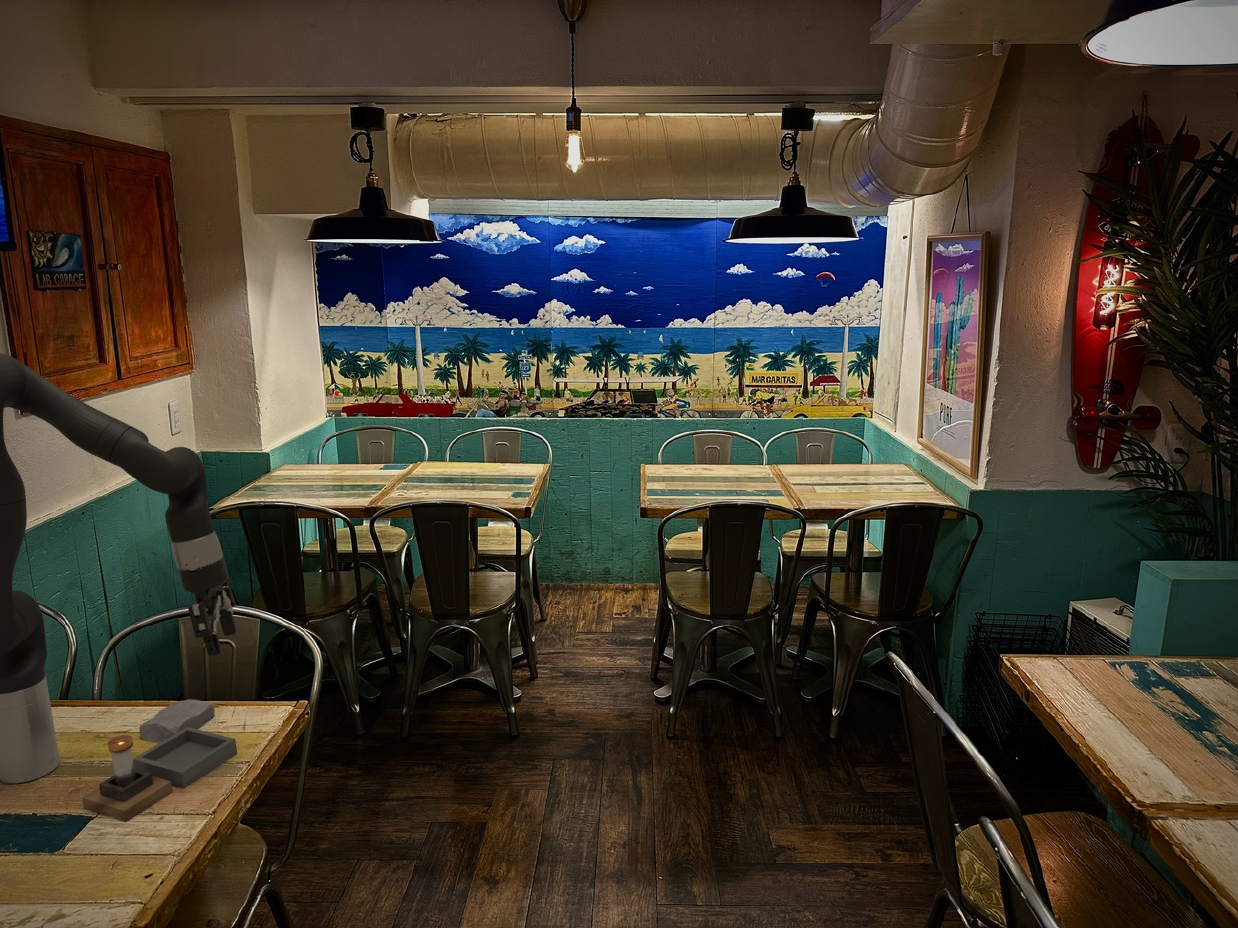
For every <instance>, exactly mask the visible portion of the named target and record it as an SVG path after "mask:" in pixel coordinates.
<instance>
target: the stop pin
mask: <svg viewBox="0 0 1238 928" xmlns="http://www.w3.org/2000/svg"><path fill="white" fill-rule="evenodd" d="M133 740H134V739H133V736H132V735H130V734H123V735H122V734H121V735H118V736H115V737H112V738H111V739H109V740H108V741H107V747H108V751H109V753H111V759H112V761H111V762H112V766H113V767H112V768H113V773H114V775H115V781H116V786H119V787H123V788H124V787H126V786H127V785H129V784H131V783H132V782H134V781H136V775H135V768H134V761H133V758H134V755H133V749H132V747H133V746H134V741H133Z"/></svg>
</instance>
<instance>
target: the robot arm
mask: <svg viewBox="0 0 1238 928" xmlns="http://www.w3.org/2000/svg"><path fill="white" fill-rule="evenodd" d="M5 408H11V409H15V410H18V411H20V412H23V413H27V414H30V415H32V416H34V417H37V418H38V419H41V420H42V421H44V422H46V423H48V424H50V425H51V426H52V427H53V428H54V429H56V430H57V431H58V432H59V433H60V434H62V435H63V436H64V437H65V438H67V439H68V440H69V441H70V442H71V443H73V444H74V445H75V446H76V447H78V448H79V449H81V450H83V451H85V452H87V453H88V454H90V455H92V456H94V457H97V458H98V459H101V460H103V461H105V462H107V463H109V464H112V465H114V466H116V467H119V468H120V469H122V470H123V471H124V472H125V473H127V474H128V475H129V476H130V477H132V478H133V479H134V480H136V481H138V482H139V483H140V484H142V485H143V486H144V487H146V488H148V489H149V490H152V491H154V492H157V493H160V494H165V495H167V496H168V497H167V498H168V507H167V509H166V510H165V514H164V516H165V517H164V518H165V522H166V523H165V524H166V527H167V531H168V535H169V538H170V541H171V545H172V546H171V547H172V552H173V558H174V560H175V565H176V568H177V571H178V575H179V580H180V582H181V586H182V589H183V590H184V591H185V592H187V593H192V594H193V595H194V599H195V603H193V604H192V603H191V604H189V605H188V606H187V609H188V614H189V617H190V621H191V625H192V629H193V633H194V636H195V638H196V639H198V638H203V642H204V646H205V649H206V653H207V655H208V656H209V657H212V656H218V655H220V654H221V653H222V650H223V649H222V646H221V643H220V639H219V635H218V632H217V623H218V622H220V623H219V624H220V627H221V630H222V633H223V635H224V636H225V637H229V636H234V635H236V633H237V632H238V630H237V626H236V623H235V618H234V611H235V610H234V608H235V607H236V601H235V596H234V594H233V590H232V586H231V584H230V579H229V577H230V576H229V572H228V568H227V564H226V562H225V558H224V554H223V550H222V546H221V543H220V539H219V538H218V536H217V534H216V530H215V526H214V523H213V519H212V517H211V513H210V510H209V506H208V486H207V485H208V484H207V476H206V471H205V466H204V464H203V461H202V459H201V458H200V456H199V455H198V454H197V452H195V451H194V450H193V449H191V448H190V447H189V448H188V447H185V446H176V447H172V448H170V449H167V450H166V451H164V450H162V449H160V448H158V447H156V446H155V445H154V444H152V443H150V441H149V437H148V435H146V433H144V432H143V431H142V430H140V429H138V428H136V427H133V426H131V424H128V423H126V422H124V421H121V420H120V419H117V418H115V417H114V416H111V415H109V414H107V413H105V412H103V411H101V410H99V409H97V408H95V407H93V406H91V405H89V404H87V403H85V402H84V401H82V400H80V399H78V398H76V397H75V396H73V395H72V394H70V393H68V392H67V391H65V390H63V389H62V388H60V387H59V386H57V385H55V384H54V383H52V382H51V381H49V380H48V379H46V378H45V377H43V376H41V375H40V374H39V373H37V371H34V370H33V369H32V368H30V367H28V366H27V365H26V364H24V363H22V362H21V361H19V360H18V359H16V358H14V357H13V356H11V355H8V354H6V353H2V352H0V782H2V783H5V784H19V783H26V782H30V781H33V780H37V779H40V778H41V777H44V776H46V775H48V774H50V773H51V772H53V771H54V770H55V769H56V768H57V767H58V766H59V765H60V753H59V749H58V742H57V736H56V729H55V724H54V717H53V713H52V712H53V711H52V704H51V699H50V694H49V688H48V687H49V686H48V682H47V677H46V667H45V666H46V662H47V658H48V648H47V639H46V638H47V637H46V627H45V621H44V616H43V613H42V610H41V607H40V605H39V604H38V602H37V600H36V599H35V598H33V597H32V596H31V595H30V594H28V593H27V592H24V591H21V590H14V589H13V579H14V571H15V567H16V564H17V560H18V557H19V554H20V552H21V551H20V550H21V548H22V545H23V542H24V538H25V535H26V529H27V522H28V521H27V520H28V519H27V518H28V516H27V515H28V513H27V498H26V497H27V495H26V487H25V484H24V483H25V482H24V481H23V479H22V476H21V474H20V472H19V470H18V468H17V466H16V465H15V463H14V461H13V458H11V456H10V454H9V452H8V450H7V449H8V448H7V447H6V441H5V435H4V433H5V432H4V431H5V430H4V409H5Z"/></svg>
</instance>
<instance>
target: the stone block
mask: <svg viewBox="0 0 1238 928" xmlns="http://www.w3.org/2000/svg"><path fill="white" fill-rule="evenodd" d="M215 711H216V710H215V706H214V703H212V702H209V701H208V702H207V701H202V700H198V699H186V700H180V701H176V702H172V703H171V704H168V705H167V706H166V707H165V708H163V709H161V710H159V711H158V712H157V713H155V715H154V716H153V717H151V718H149V719H148V720H147V721H145V722H143V723H141V724H140V725H139V734H140V737H141V740H142V741H146V742H149V743H161V742H162V741H164V740H166V739H168V738H169V737H171V736H173V735H174V734H176V733H178V732H180V731H181V730H183V729H185V728H187V727H190V728H194V729H198V730H199V728H201V727H202V726H204V725H205V724H206V723H208V722H209V721H210V720H212V719H213V717H214V716H215Z"/></svg>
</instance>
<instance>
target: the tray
mask: <svg viewBox="0 0 1238 928" xmlns="http://www.w3.org/2000/svg"><path fill="white" fill-rule="evenodd" d="M237 754H238V748H237V741H236V738H234V737H229V736H225V735H222V734H217V733H214V732H209V731H205V730H201V729H199V728H198V729H194V728H190V727H187V728H185V729H183V730H181V731H180V732H178V733H176V734H174V735H173V736H171V737H169V738H168V739H166V740H164V741H162V742H158V744H156V745H154V746H152V747H150V748H149V749H147V750H145V751H144V752H142V753H140V754H138V755H137V756H135V757H133V761H134V768H135V769H137V770H141V771H144V772H148V773H151V774H152V776H154V777H157V778H161V779H164V780H168V781H171V784H172V786H173V787H178V788H181V787H182V789H185V788H187V787H188V786H190V785H192V784H193V783H194V782H196V781H197V780H199V779H200V778H202V777H203V776H205V775H207V774H208V773H209V772H211V771H213V770H215V769H216V768H217V767H219V766H221V764H224V763H225V762H226V761H228V760H229V759H231V758H233V757H234V756H235V755H237ZM189 784H190V785H189ZM186 786H187V787H186Z"/></svg>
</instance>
